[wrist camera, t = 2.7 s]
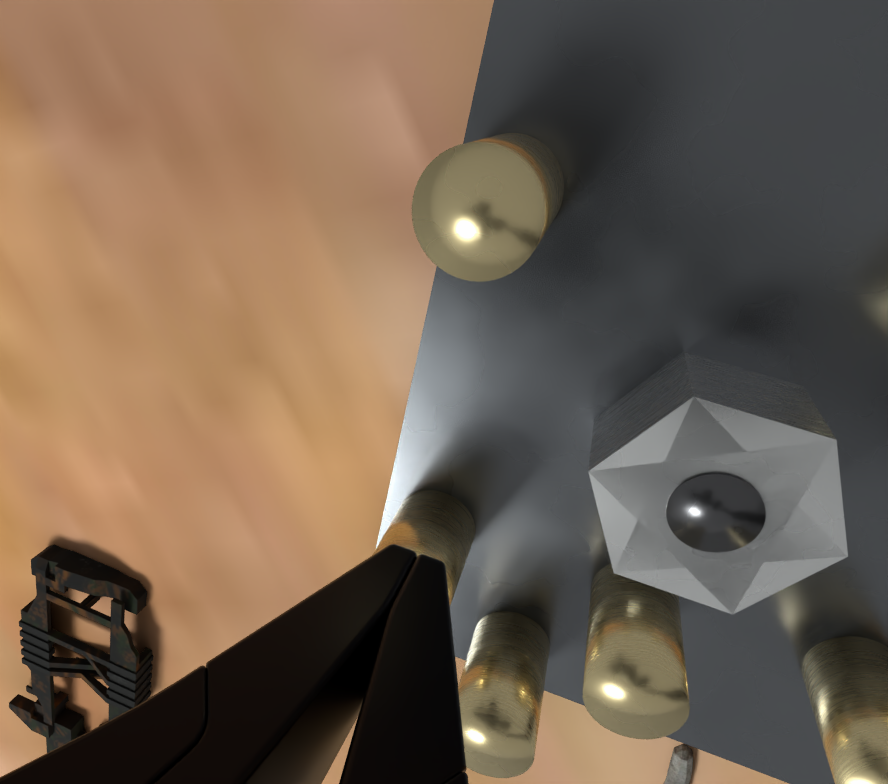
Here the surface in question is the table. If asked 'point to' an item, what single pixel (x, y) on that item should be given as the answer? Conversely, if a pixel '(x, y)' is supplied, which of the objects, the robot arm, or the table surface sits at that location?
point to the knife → (79, 644)
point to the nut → (717, 484)
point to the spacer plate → (653, 363)
